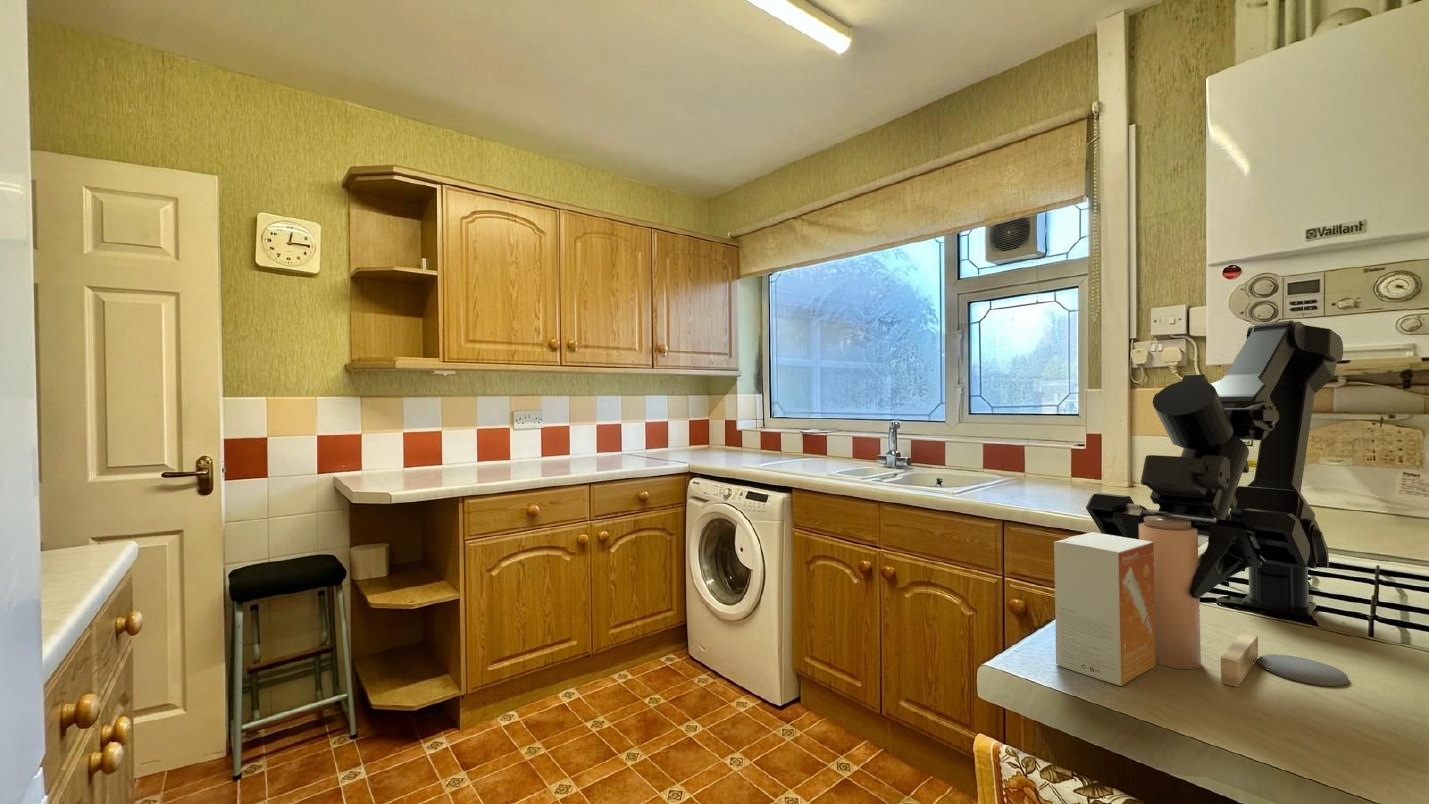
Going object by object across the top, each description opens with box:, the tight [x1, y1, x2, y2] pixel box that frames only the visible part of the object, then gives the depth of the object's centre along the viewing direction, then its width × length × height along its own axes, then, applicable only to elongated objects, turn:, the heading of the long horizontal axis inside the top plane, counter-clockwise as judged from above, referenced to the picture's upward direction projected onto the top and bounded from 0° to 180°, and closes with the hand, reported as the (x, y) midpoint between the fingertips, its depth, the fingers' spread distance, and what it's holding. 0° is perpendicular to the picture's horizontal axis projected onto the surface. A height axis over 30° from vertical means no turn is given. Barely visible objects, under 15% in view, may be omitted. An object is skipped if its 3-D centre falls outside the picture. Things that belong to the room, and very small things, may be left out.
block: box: [1220, 631, 1259, 688], centre depth 60 cm, size 10×1×2 cm, turn 129°
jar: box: [1139, 516, 1202, 670], centre depth 63 cm, size 5×5×15 cm
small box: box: [1053, 531, 1157, 687], centre depth 62 cm, size 8×6×13 cm
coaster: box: [1257, 654, 1349, 687], centre depth 60 cm, size 6×6×1 cm
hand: (1162, 589), depth 62 cm, fingers closed on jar, 5 cm apart
